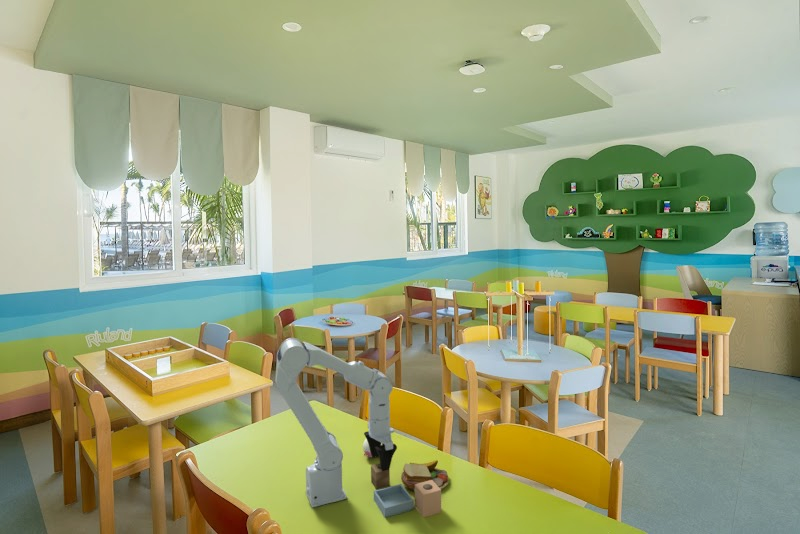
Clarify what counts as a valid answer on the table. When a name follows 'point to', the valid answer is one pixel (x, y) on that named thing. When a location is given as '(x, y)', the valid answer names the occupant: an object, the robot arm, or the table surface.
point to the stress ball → (366, 448)
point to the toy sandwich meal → (424, 474)
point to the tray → (393, 500)
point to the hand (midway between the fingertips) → (380, 463)
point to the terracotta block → (427, 498)
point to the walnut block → (379, 477)
